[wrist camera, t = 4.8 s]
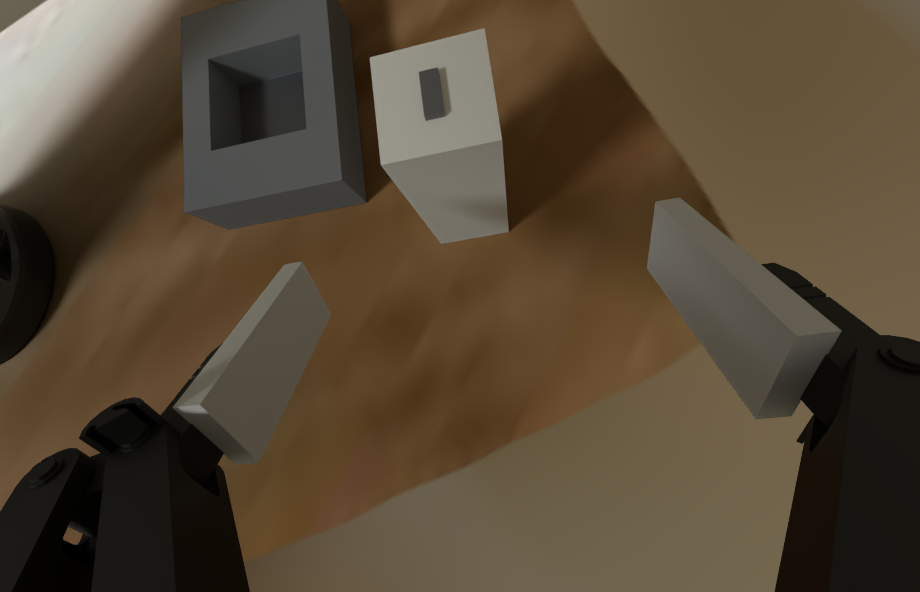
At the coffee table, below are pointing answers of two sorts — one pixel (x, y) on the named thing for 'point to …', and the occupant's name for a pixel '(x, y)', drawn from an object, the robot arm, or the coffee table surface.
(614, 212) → the coffee table surface
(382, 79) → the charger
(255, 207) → the block
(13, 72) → the coffee table surface
